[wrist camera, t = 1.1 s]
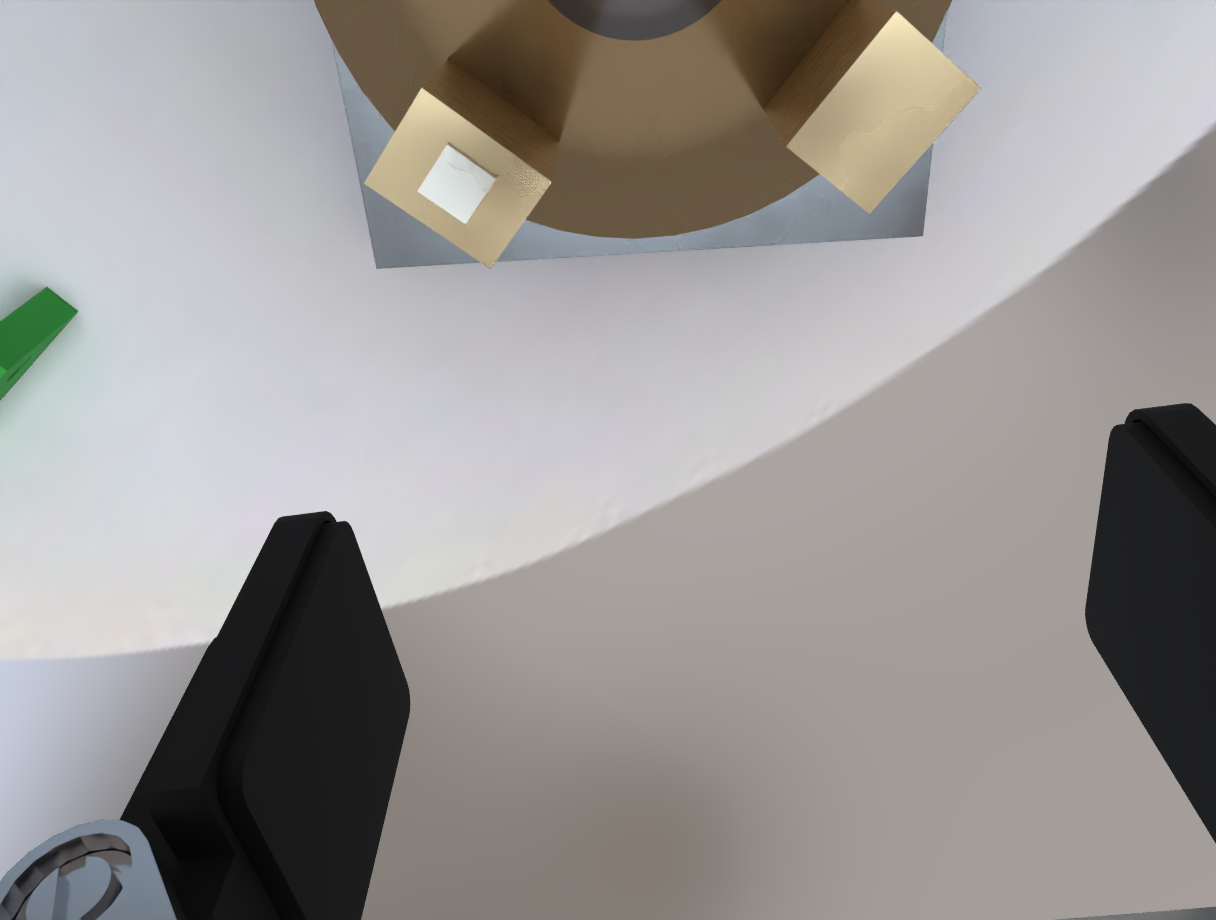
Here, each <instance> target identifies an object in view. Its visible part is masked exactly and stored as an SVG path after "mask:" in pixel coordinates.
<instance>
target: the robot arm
mask: <svg viewBox="0 0 1216 920" xmlns="http://www.w3.org/2000/svg"><path fill="white" fill-rule="evenodd" d="M1085 617H1086V624H1087V629H1088V632H1089V635H1090V638H1091V640H1092V642H1093V644H1094V645H1095V647H1096V649H1097V650H1098V652H1099V653H1100V655H1101V657H1102V658H1103V660H1104V662H1105V663H1106V665H1107V666H1108V668H1109V670H1110V671H1111V673H1112V675H1113V676H1114V678H1115V680H1116V681H1117V683H1118V685H1119V686H1120V688H1121V689H1122V691H1123V693H1124V694H1125V696H1126V698H1127V699H1128V701H1129V703H1130V704H1131V706H1132V707H1133V709H1134V711H1135V712H1136V714H1137V716H1138V717H1139V719H1140V720H1141V722H1142V724H1143V725H1144V727H1145V729H1146V730H1147V732H1148V734H1149V735H1150V737H1151V738H1152V740H1153V742H1154V743H1155V745H1156V747H1157V748H1158V750H1159V751H1160V753H1161V755H1162V756H1163V758H1164V760H1165V761H1166V763H1167V764H1168V766H1169V768H1170V769H1171V771H1172V773H1173V774H1174V776H1175V778H1176V779H1177V781H1178V782H1179V784H1180V786H1181V787H1182V789H1183V791H1184V792H1185V794H1186V795H1187V797H1188V799H1189V800H1190V802H1191V804H1192V805H1193V807H1194V809H1195V810H1196V812H1197V814H1198V815H1199V817H1200V818H1201V820H1202V822H1203V823H1204V825H1205V827H1206V828H1207V830H1208V831H1209V833H1210V835H1211V836H1212V838H1213V840H1214V841H1215V843H1216V425H1215V424H1214V423H1213V422H1212V421H1211V420H1210V419H1209V418H1208V417H1207V416H1206V415H1204V414H1203V413H1202V412H1201V411H1200V410H1199V409H1198V408H1197V407H1195V406H1194V405H1192V404H1187V403H1185V404H1184V403H1183V404H1176V405H1168V406H1159V407H1152V408H1143V409H1135V410H1133V411H1132V412H1130V413H1129V415H1128V416H1127V418H1126V421H1125V424H1120V425H1116V426H1114V427H1113V429H1112V431H1111V433H1110V437H1109V442H1108V450H1107V457H1106V464H1105V471H1104V478H1103V486H1102V493H1101V500H1100V507H1099V514H1098V521H1097V529H1096V536H1095V544H1094V550H1093V557H1092V565H1091V572H1090V580H1089V586H1088V593H1087V601H1086V608H1085ZM409 713H410V694H409V688H408V684H407V681H406V678H405V675H404V672H403V670H402V667H401V664H400V661H399V659H398V656H397V653H396V650H395V647H394V645H393V641H392V639H391V636H390V633H389V630H388V628H387V625H386V622H385V619H384V616H383V613H382V611H381V608H380V605H379V602H378V599H377V597H376V594H375V591H374V588H373V585H372V583H371V580H370V577H369V574H368V571H367V569H366V566H365V563H364V560H363V557H362V554H361V552H360V549H359V546H358V543H357V540H356V538H355V535H354V532H353V530H352V528H351V526H350V524H349V523H348V522H346V521H341V522H336V520H335V518H334V517H333V515H332V514H331V513H329V512H327V511H323V512H315V513H307V514H299V515H291V516H283V517H280V518H278V519H277V521H276V522H275V523H274V525H273V527H272V529H271V531H270V533H269V535H268V537H267V539H266V541H265V543H264V545H263V547H262V549H261V551H260V553H259V555H258V557H257V559H256V561H255V563H254V565H253V567H252V569H251V571H250V573H249V575H248V577H247V579H246V581H245V583H244V585H243V587H242V589H241V590H240V592H239V594H238V596H237V598H236V600H235V602H234V604H233V606H232V608H231V610H230V612H229V614H228V616H227V618H226V620H225V622H224V624H223V626H222V628H221V630H220V632H219V634H218V636H217V637H216V638H214V640H213V641H212V642H211V644H210V645H209V647H208V648H207V650H206V652H205V654H204V656H203V658H202V660H201V662H200V664H199V666H198V668H197V670H196V672H195V674H194V675H193V678H192V679H191V681H190V683H189V685H188V687H187V689H186V691H185V693H184V695H183V697H182V699H181V701H180V703H179V705H178V707H177V709H176V711H175V713H174V715H173V717H172V719H171V720H170V722H169V724H168V726H167V728H166V730H165V732H164V734H163V736H162V738H161V740H160V742H159V744H158V746H157V748H156V750H155V752H154V754H153V756H152V758H151V759H150V761H149V764H148V766H147V767H146V770H145V771H144V773H143V775H142V777H141V779H140V781H139V783H138V785H137V787H136V789H135V791H134V793H133V795H132V797H131V799H130V801H129V803H128V804H127V806H126V808H125V810H124V812H123V814H122V816H121V818H120V820H98V821H94V822H90V823H85V824H81V825H77V826H75V827H73V828H70V829H68V830H66V831H64V832H62V833H59V834H57V835H55V836H53V837H51V838H50V839H48V840H47V841H45V842H44V843H42V844H41V845H39V846H38V847H36V848H35V849H33V850H32V851H30V852H29V853H27V854H26V855H25V856H24V857H23V858H22V859H21V860H20V861H19V862H18V863H17V864H16V865H15V866H14V867H12V868H11V869H10V870H9V871H8V872H7V873H6V875H5V876H4V877H3V878H2V880H1V881H0V920H361V916H362V913H363V909H364V905H365V900H366V896H367V892H368V888H369V883H370V879H371V875H372V871H373V867H374V862H375V858H376V854H377V850H378V845H379V841H380V837H381V833H382V828H383V824H384V820H385V815H386V811H387V807H388V802H389V799H390V795H391V790H392V786H393V782H394V778H395V773H396V769H397V765H398V761H399V756H400V752H401V748H402V744H403V739H404V735H405V731H406V727H407V723H408V718H409ZM1057 920H1216V907H1208V908H1195V909H1183V910H1170V911H1157V912H1146V913H1132V914H1119V915H1107V916H1096V917H1095V916H1094V917H1082V918H1070V919H1057Z"/></svg>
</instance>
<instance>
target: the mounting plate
mask: <svg viewBox="0 0 1216 920" xmlns="http://www.w3.org/2000/svg"><path fill="white" fill-rule="evenodd" d="M946 16H947V12H946V15H945V17H944V19H943V21H942V23H941V26H940V28H939V30H938V32H937V34H936V37H935V39H934V40H933V42H932V44H933V45H934V46H935V47H937V48H938V49H939V50H940V51H941V52H942V53H943V44H944V35H945V26H946ZM332 42H333V41H332ZM333 48H334V53H335V58H336V63H337V68H338V73H339V78H340V83H341V89H342V94H343V99H344V104H345V109H346V114H347V119H348V124H349V129H350V135H351V140H352V145H353V150H354V155H355V160H356V165H357V170H358V176H359V181H360V186H361V191H362V196H363V201H364V206H365V211H366V216H367V222H368V227H369V232H370V237H371V242H372V247H373V252H374V257H375V263H376V268H377V269H380V268H396V267H413V266H430V265H447V264H463V263H480V262H479V261H478V260H477V259H475V258H474V257H472V256H471V255H469V254H468V253H466V252H465V251H463V250H462V249H460V248H459V247H457V246H456V245H454V244H453V243H451V242H450V241H448V240H447V239H445V238H444V237H442V236H441V235H439V234H438V233H437V232H435V231H434V230H432V229H431V228H429V227H428V226H426V225H425V224H423V223H422V222H420V221H419V220H417V219H416V218H414V217H413V216H411V215H410V214H408V213H407V212H405V211H404V210H402V209H401V208H399V207H398V206H396V205H395V204H394V203H392V202H391V201H389V200H388V199H386V198H385V197H383V196H382V195H380V194H379V193H377V192H376V191H374V190H373V189H371V188H370V187H368V186H367V185H365V184H364V182H365V181H366V179H367V177H368V176H369V174H370V172H371V171H372V169H373V167H374V166H375V164H376V162H377V161H378V159H379V157H380V156H381V154H382V152H383V151H384V149H385V148H386V146H387V144H388V143H389V141H390V139H391V138H392V136H393V134H394V133H395V131H394V130H393V129H392V128H391V127H390V126H389V125H388V123H387V122H386V121H385V120H384V118H383V117H382V116H381V114H380V113H379V112H378V111H377V109H376V108H375V107H374V106H373V104H372V103H371V102H370V101H369V99H368V98H367V97H366V95H365V94H364V93H363V92H362V90H361V89H360V87H359V86H358V84H357V82H356V81H355V79H354V77H353V76H352V74H351V73H350V71H349V69H348V68H347V66H346V64H345V63H344V61H343V60H342V58H341V56H340V55H339V53H338V51H337V49H336V47H335V45H334V43H333ZM932 146H933V143H932V144H931V145H930V147H929V148H928V149H927V150H926V151H925V152H924V153H923V154H922V156H921V157H920V158H919V159H918V160H917V161H916V162H915V163H914V165H913V166H912V167H911V168H910V169H909V170H908V171H907V172H906V174H905V175H904V176H903V177H902V178H901V179H900V180H899V181H898V183H897V184H896V185H895V186H894V187H893V188H892V189H891V190H890V192H889V193H888V194H887V195H886V196H885V197H884V198H883V199H882V201H881V202H880V203H879V204H878V205H877V206H876V207H875V208H874V209H873V211H872V212H871V213H870V214H869V213H868V212H866V211H865V210H864V209H863V208H861V207H860V206H859V205H858V204H856V203H855V202H854V201H853V200H851V199H850V198H849V197H848V196H847V195H845V194H844V193H843V192H842V191H840V190H839V189H838V188H837V187H835V186H834V185H833V184H832V183H830V182H829V181H828V180H827V179H826V178H824V177H823V176H822V175H821V174H820V175H818V176H817V177H815V178H814V179H812V180H811V181H809V182H808V183H806V184H805V185H803V186H801V187H800V188H798V189H797V190H795V191H794V192H792V193H791V194H789V195H788V196H786V197H784V198H782V199H780V200H778V201H776V202H774V203H772V204H770V205H768V206H766V207H764V208H762V209H760V210H758V211H756V212H754V213H752V214H750V215H747V216H744V217H741V218H738V219H736V220H733V221H730V222H727V223H724V224H721V225H718V226H715V227H712V228H708V229H703V230H699V231H694V232H689V233H684V234H680V235H675V236H664V237H652V238H640V239H628V238H606V237H594V236H588V235H583V234H577V233H571V232H565V231H560V230H556V229H553V228H550V227H547V226H543V225H540V224H537V223H534V222H531V221H527V220H525V221H524V222H523V224H522V225H521V227H520V228H519V229H518V231H517V232H516V234H515V235H514V237H513V238H512V239H511V241H510V242H509V244H508V245H507V246H506V248H505V249H504V251H503V252H502V254H501V255H500V256H499V258H498V259H497V261H514V260H530V259H547V258H564V257H581V256H598V255H614V254H631V253H648V252H665V251H681V250H698V249H715V248H732V247H748V246H765V245H782V244H799V243H815V242H832V241H849V240H866V239H882V238H899V237H916V236H923V230H924V221H925V211H926V202H927V193H928V183H929V174H930V165H931V156H932ZM497 261H496V262H497Z"/></svg>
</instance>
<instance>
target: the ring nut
mask: <svg viewBox="0 0 1216 920" xmlns="http://www.w3.org/2000/svg"><path fill="white" fill-rule="evenodd" d="M314 1H315V4H316V7H317V9H318V11H319V13H320V16H321V18H322V20H323V22H324V24H325V26H326V28H327V30H328V33H329V35H330V37H331V39H332V41H333V43H334V45H335V47H336V49H337V51H338V53H339V55H340V56H341V58H342V60H343V61H344V63H345V64H346V66H347V68H348V69H349V71H350V73H351V74H352V76H353V77H354V79H355V81H356V82H357V84H358V86H359V87H360V89H361V90H362V92H363V93H364V94H365V95H366V97H367V98H368V99H369V101H370V102H371V103H372V104H373V106H374V107H375V108H376V109H377V111H378V112H379V113H380V114H381V116H382V117H383V118H384V120H385V121H386V122H387V123H388V125H389V126H390V127H391V128H392V129H393V130H394V131H395V133H394V134H393V136H392V138H391V139H390V141H389V143H388V144H387V146H386V148H385V149H384V151H383V152H382V154H381V156H380V157H379V159H378V161H377V162H376V164H375V166H374V167H373V169H372V171H371V172H370V174H369V176H368V177H367V179H366V181H365V182H364V184H365V185H367V186H368V187H370V188H371V189H373V190H374V191H376V192H377V193H379V194H380V195H382V196H383V197H385V198H386V199H388V200H389V201H391V202H392V203H394V204H395V205H396V206H398V207H399V208H401V209H402V210H404V211H405V212H407V213H408V214H410V215H411V216H413V217H414V218H416V219H417V220H419V221H420V222H422V223H423V224H425V225H426V226H428V227H429V228H431V229H432V230H434V231H435V232H437V233H438V234H439V235H441V236H442V237H444V238H445V239H447V240H448V241H450V242H451V243H453V244H454V245H456V246H457V247H459V248H460V249H462V250H463V251H465V252H466V253H468V254H469V255H471V256H472V257H474V258H475V259H477V260H478V261H479V262H481V263H482V264H484V265H485V266H487V267H488V268H490V269H491V268H492V266H493V265H494V263H495V262H496V261H497V259H498V258H499V256H500V255H501V254H502V252H503V251H504V249H505V248H506V246H507V245H508V244H509V242H510V241H511V239H512V238H513V237H514V235H515V234H516V232H517V231H518V229H519V228H520V227H521V225H522V224H523V222H524V221H525V220H527V221H531V222H534V223H537V224H540V225H543V226H547V227H550V228H553V229H556V230H560V231H565V232H571V233H577V234H583V235H588V236H594V237H606V238H628V239H640V238H652V237H664V236H675V235H680V234H684V233H689V232H694V231H699V230H703V229H708V228H712V227H715V226H718V225H721V224H724V223H727V222H730V221H733V220H736V219H738V218H741V217H744V216H747V215H750V214H752V213H754V212H756V211H758V210H760V209H762V208H764V207H766V206H768V205H770V204H772V203H774V202H776V201H778V200H780V199H782V198H784V197H786V196H788V195H789V194H791V193H792V192H794V191H795V190H797V189H798V188H800V187H801V186H803V185H805V184H806V183H808V182H809V181H811V180H812V179H814V178H815V177H817V176H818V175H820V174H821V175H822V176H823V177H824V178H826V179H827V180H828V181H829V182H830V183H832V184H833V185H834V186H835V187H837V188H838V189H839V190H840V191H842V192H843V193H844V194H845V195H847V196H848V197H849V198H850V199H851V200H853V201H854V202H855V203H856V204H858V205H859V206H860V207H861V208H863V209H864V210H865V211H866V212H868V213H869V214H870V213H871V212H872V211H873V209H874V208H875V207H876V206H877V205H878V204H879V203H880V202H881V201H882V199H883V198H884V197H885V196H886V195H887V194H888V193H889V192H890V190H891V189H892V188H893V187H894V186H895V185H896V184H897V183H898V181H899V180H900V179H901V178H902V177H903V176H904V175H905V174H906V172H907V171H908V170H909V169H910V168H911V167H912V166H913V165H914V163H915V162H916V161H917V160H918V159H919V158H920V157H921V156H922V154H923V153H924V152H925V151H926V150H927V149H928V148H929V147H930V145H931V144H932V143H933V142H934V141H935V140H936V139H937V138H938V137H939V135H940V134H941V133H942V132H943V131H944V130H945V129H946V128H947V126H948V125H949V124H950V123H951V122H952V121H953V120H954V119H955V117H956V116H957V115H958V114H959V113H960V112H961V111H962V110H963V108H964V107H965V106H966V105H967V104H968V103H969V102H970V101H971V99H972V98H973V97H974V96H975V95H976V94H977V93H978V92H979V90H980V89H981V87H979V86H978V85H977V84H976V83H975V82H974V81H973V80H972V79H971V78H970V77H968V76H967V75H966V74H965V73H964V72H963V71H962V70H961V69H960V68H959V67H957V66H956V65H955V64H954V63H953V62H952V61H951V60H950V59H949V58H948V57H946V56H945V55H944V54H943V53H942V52H941V51H940V50H939V49H938V48H937V47H935V46H934V45H933V44H932V42H933V40H934V39H935V37H936V34H937V32H938V30H939V28H940V26H941V23H942V21H943V19H944V17H945V15H946V12H947V10H948V8H949V6H950V4H951V1H952V0H314Z"/></svg>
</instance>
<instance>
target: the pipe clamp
mask: <svg viewBox="0 0 1216 920" xmlns="http://www.w3.org/2000/svg"><path fill="white" fill-rule="evenodd" d="M77 312H78V311H77V310H76V309H75V308H73V307H72V306H71V305H70V304H68V303H67V302H66V301H64V300H63V299H62V298H61V297H59V296H58V295H57V294H56V293H54V292H53V291H52V290H50V289H49V288H48V287H46V288H45V289H44V290H42V291H41V292H40V293H38V294H37V295H36V296H34V297H33V298H32V299H30V300H29V301H28V302H26V303H25V304H24V305H22V306H21V307H20V308H18V309H17V310H16V311H14V312H13V313H12V314H10V315H9V316H8V317H6V318H5V319H4V320H2V321H1V322H0V400H1V399H2V398H3V397H4V396H5V395H6V393H7V392H8V391H9V390H10V389H11V388H12V387H13V385H14V384H15V383H16V382H17V381H18V380H19V379H20V377H21V376H22V375H23V374H24V373H25V372H26V371H27V369H28V368H29V367H30V366H31V365H32V364H33V363H34V361H35V360H36V359H37V358H38V357H39V356H40V354H41V353H42V352H43V351H44V350H45V349H46V348H47V346H48V345H49V344H50V343H51V342H52V341H53V340H54V338H55V337H56V336H57V335H58V334H59V333H60V332H61V330H62V329H63V328H64V327H65V326H66V325H67V324H68V322H69V321H70V320H71V319H72V318H73V317H74V316H75V314H76V313H77Z"/></svg>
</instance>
